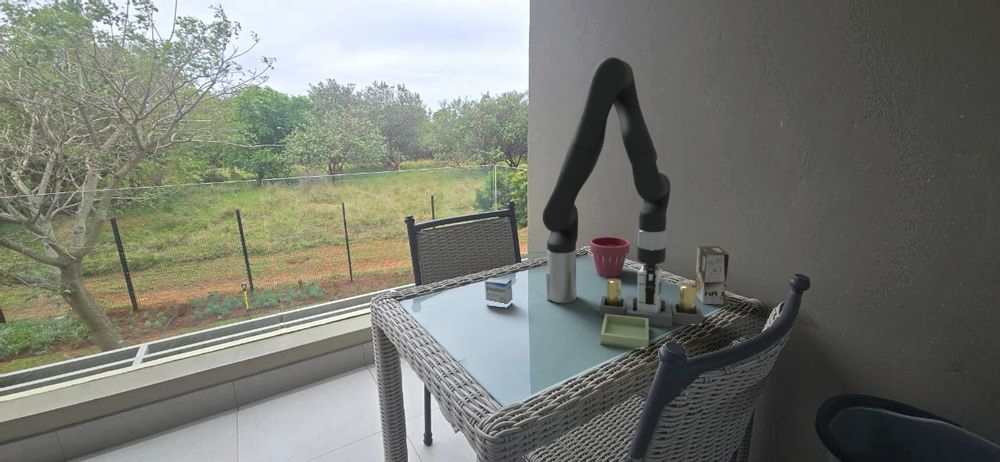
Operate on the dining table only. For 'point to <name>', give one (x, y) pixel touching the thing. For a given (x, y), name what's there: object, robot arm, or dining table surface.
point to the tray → (625, 331)
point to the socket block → (653, 318)
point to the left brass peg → (614, 292)
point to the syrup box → (642, 295)
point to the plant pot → (609, 255)
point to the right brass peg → (687, 298)
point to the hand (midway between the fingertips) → (649, 298)
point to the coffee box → (711, 274)
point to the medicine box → (498, 290)
